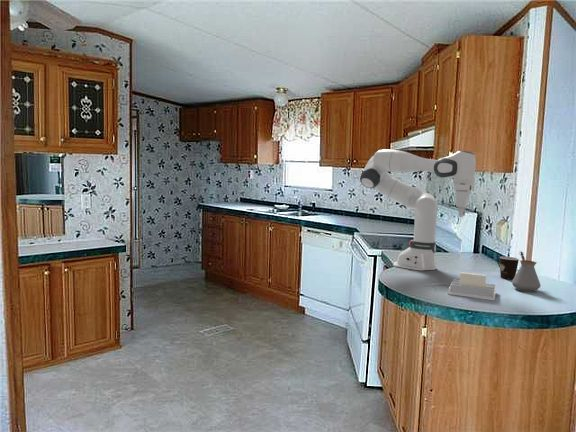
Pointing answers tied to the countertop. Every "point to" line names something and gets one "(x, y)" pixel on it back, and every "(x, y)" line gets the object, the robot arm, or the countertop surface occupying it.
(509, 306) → the countertop surface
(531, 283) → the coffee pot
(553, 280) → the countertop surface
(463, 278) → the ceramic tile
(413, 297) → the countertop surface
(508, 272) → the coffee mug
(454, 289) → the dish rack
